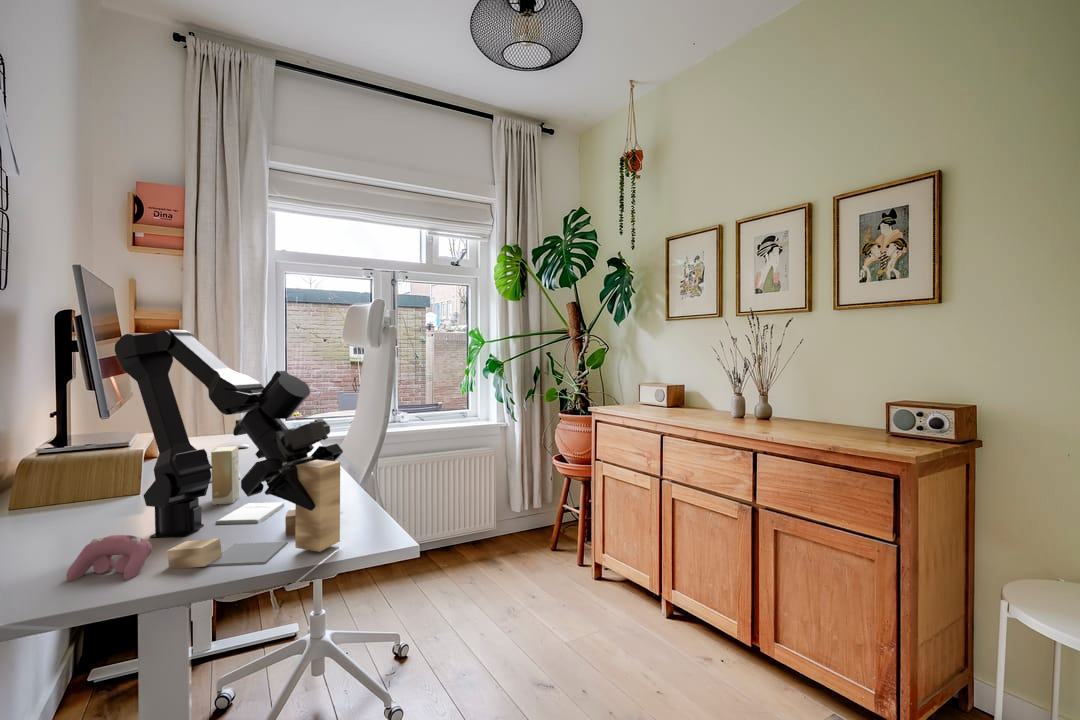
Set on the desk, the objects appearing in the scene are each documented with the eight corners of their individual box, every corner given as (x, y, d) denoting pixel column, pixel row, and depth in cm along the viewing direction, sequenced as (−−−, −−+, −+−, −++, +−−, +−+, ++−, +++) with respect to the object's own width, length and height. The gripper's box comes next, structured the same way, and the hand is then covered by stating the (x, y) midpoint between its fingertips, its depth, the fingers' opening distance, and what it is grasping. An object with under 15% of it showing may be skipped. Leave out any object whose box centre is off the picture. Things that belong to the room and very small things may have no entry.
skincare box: (219, 498, 125) (218, 446, 125) (240, 496, 126) (238, 445, 126) (211, 505, 119) (210, 451, 119) (233, 503, 120) (232, 450, 120)
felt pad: (206, 567, 84) (206, 564, 84) (234, 546, 93) (234, 543, 93) (265, 565, 85) (265, 561, 85) (287, 545, 94) (287, 541, 94)
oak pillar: (295, 547, 89) (295, 465, 89) (316, 538, 94) (316, 459, 94) (319, 551, 88) (320, 467, 88) (339, 541, 93) (340, 461, 92)
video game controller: (147, 582, 83) (160, 535, 86) (128, 580, 79) (142, 531, 82) (82, 584, 83) (97, 537, 86) (59, 582, 79) (76, 533, 82)
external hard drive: (215, 528, 105) (246, 509, 117) (258, 527, 106) (284, 508, 118) (215, 520, 105) (246, 502, 117) (258, 519, 105) (284, 501, 118)
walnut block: (285, 538, 98) (285, 516, 98) (288, 531, 102) (287, 510, 102) (309, 535, 99) (308, 514, 99) (310, 528, 103) (310, 508, 103)
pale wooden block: (169, 569, 84) (167, 550, 84) (188, 558, 88) (186, 541, 88) (204, 566, 83) (202, 547, 83) (222, 556, 87) (219, 538, 87)
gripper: (253, 411, 83) (312, 487, 80) (333, 400, 101) (384, 461, 98) (215, 458, 85) (271, 533, 82) (300, 439, 103) (349, 500, 100)
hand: (324, 504), depth 91 cm, fingers closed on oak pillar, 5 cm apart
